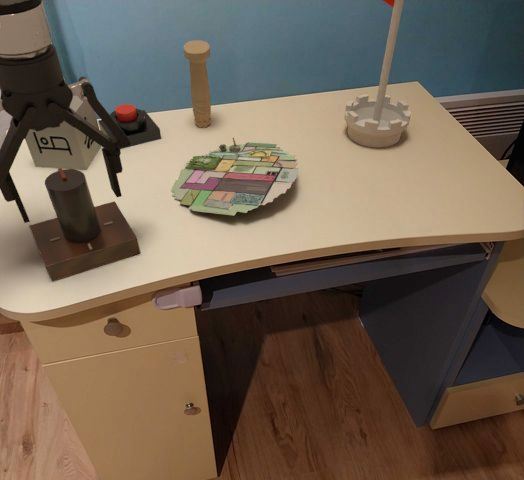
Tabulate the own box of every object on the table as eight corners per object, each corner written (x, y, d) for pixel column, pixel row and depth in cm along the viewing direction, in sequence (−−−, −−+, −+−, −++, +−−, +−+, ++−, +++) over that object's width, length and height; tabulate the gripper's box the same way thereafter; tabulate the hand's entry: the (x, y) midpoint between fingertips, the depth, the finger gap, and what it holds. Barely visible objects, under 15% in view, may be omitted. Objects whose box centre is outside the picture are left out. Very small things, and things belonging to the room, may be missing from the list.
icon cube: (35, 167, 94) (15, 114, 87) (55, 140, 101) (38, 89, 93) (86, 170, 94) (71, 118, 86) (102, 143, 100) (90, 92, 92)
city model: (180, 157, 101) (173, 128, 96) (295, 144, 99) (294, 114, 94) (167, 237, 85) (157, 207, 80) (303, 223, 83) (301, 192, 79)
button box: (100, 130, 103) (95, 111, 100) (146, 120, 106) (142, 101, 103) (114, 150, 98) (109, 131, 95) (161, 139, 101) (158, 119, 98)
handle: (191, 132, 103) (182, 53, 91) (192, 117, 107) (184, 40, 96) (214, 132, 103) (209, 53, 92) (214, 117, 107) (209, 40, 96)
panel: (52, 281, 75) (45, 265, 72) (35, 240, 81) (28, 224, 78) (140, 253, 79) (136, 237, 76) (118, 216, 85) (114, 200, 82)
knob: (105, 235, 77) (89, 182, 69) (69, 247, 75) (49, 193, 68) (94, 216, 80) (78, 163, 72) (59, 226, 78) (39, 173, 71)
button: (114, 115, 100) (112, 106, 99) (133, 111, 101) (131, 102, 100) (120, 124, 98) (118, 115, 96) (140, 119, 99) (138, 110, 98)
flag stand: (398, 118, 108) (437, -56, 84) (411, 149, 100) (459, -34, 76) (338, 119, 107) (361, -56, 84) (347, 150, 99) (375, -34, 76)
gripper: (115, 19, 63) (143, 170, 80) (-102, 54, 55) (-21, 213, 72) (135, 40, 59) (160, 195, 75) (-97, 80, 51) (-12, 243, 68)
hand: (72, 204), depth 74 cm, fingers open, 13 cm apart
